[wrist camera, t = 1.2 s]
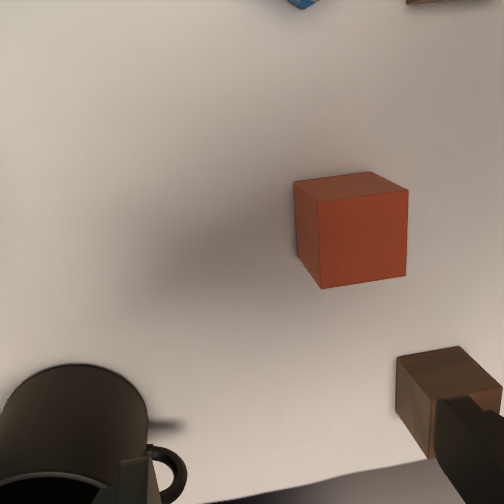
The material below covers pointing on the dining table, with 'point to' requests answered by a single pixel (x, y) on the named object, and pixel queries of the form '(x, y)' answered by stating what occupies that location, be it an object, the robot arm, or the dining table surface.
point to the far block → (439, 389)
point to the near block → (423, 1)
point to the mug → (74, 438)
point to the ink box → (303, 3)
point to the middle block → (351, 228)
